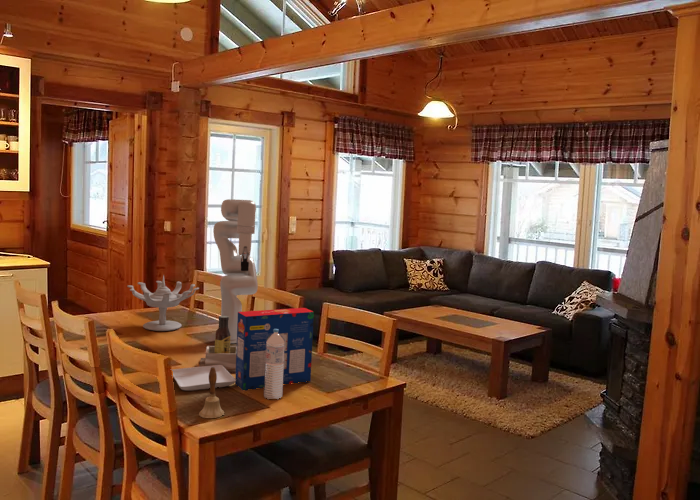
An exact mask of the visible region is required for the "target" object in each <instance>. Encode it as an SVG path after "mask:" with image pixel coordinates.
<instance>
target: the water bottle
mask: <svg viewBox="0 0 700 500" xmlns="http://www.w3.org/2000/svg"><path fill="white" fill-rule="evenodd" d="M278 331H279V330H278V329H273V332H274V333H273V334H271V335H270V336H269V337H268V338H267V340H266V358H265V375H264V376H265V377H264V388H263V397H264V399H266V398H267V399H266V400H269V399H277V400H280V399H282V398H283V395H284V385H283V376H284V375H283V374H284V345H285V340H284V338H283V337H282V336H281V335H280V334H278ZM281 397H282V398H281ZM279 398H280V399H279Z"/></svg>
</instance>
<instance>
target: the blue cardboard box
mask: <svg viewBox="0 0 700 500" xmlns="http://www.w3.org/2000/svg"><path fill="white" fill-rule="evenodd" d="M314 313H315V312H314V311H313V310H311V309H308V308H307V307H294V308H293V307H292V308H281V309H280V308H278V309H263V310H249V311H248V310H246V311H242V312H238V321H237V343H236V346H237V349H236V373H235V376H234V378H235V379H236V382H235V383H234V384H235V386H237V387H238V386H239V387H240V388H241V389H240V388H239V387H238V388H239V389H240V390H241V391H243V390H245V391H249V390H248V389H252V390H257V389H256V388H260V389H264V388H263V387H264V377H265V376H264V375H265V358H266V340H267V338H268V337H269V336H270V335H271V334H273V333H274V332H273V329H278V330H279V331H278V334H280V335H281V336H282V337H283V338H284V340H285V345H284V374H283V375H284V376H283V384H290V385H292V384H291V383H298V382H305V383H307V382H306V381H310V382H311V378H312V358H313V340H314V339H313V337H314V318H315V314H314ZM298 384H299V383H298Z"/></svg>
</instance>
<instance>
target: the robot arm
mask: <svg viewBox="0 0 700 500" xmlns="http://www.w3.org/2000/svg"><path fill="white" fill-rule="evenodd" d="M220 212H221V216H222V217H223V218H224V219H225V220H222V221H217V222H215V223H214V226H213V238H214V241H215V244H216V246H217V248H218V252H219V257H220V258H219V259H220V267H221V271H222V273H223V274H224V276H222V277H221V279H220V282H219V287H220V295H221V307H220V308H221V311H220V313H221V314H220V316H228V317H229V320H228V328H229V332H230V335H231V339H230V344H237V321H238V312H243V305H242V301H241V300H240V298H238V296H241V295H242V296H246V295H247V296H249V295H250V296H251V295H255V294H256V293H257V292H258V287H259V286H258V284H259V283H258V276H257V270H256V264H255V260H254V258H253V257H251V251H252V250H251V249H252V237H253V236H252V235H255V232H256V230H255V229H256V228H255V227H256V212H257V206H256V202H255V201H254V200H251V199H231V198H229V199H224V200H223V201H222V202H221V206H220ZM230 239H238V247H237V246H236V245H235V243H233V242H232V241H231V240H230Z"/></svg>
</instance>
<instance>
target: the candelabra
mask: <svg viewBox="0 0 700 500" xmlns="http://www.w3.org/2000/svg"><path fill="white" fill-rule="evenodd" d="M155 282H156V283H157V287H156V288H157V289H155V291H154V292H151V291H150V290H149V289H148V288H147V286H146V283H145V282H142V281H141V282H140V281H139V282H137V285H140V289H141V291H142V292H143V294H142V293H140V292H138V291H137V290H135V288H134V287H135V286H134V285H127V288H130V289H129V291H130V292H131V293H132V295H133V296H134V297H136V299H137V298H138V299H139V300H141V301H144V302H146V305H147V306H149V307H150V308H151V307H152V308H157V309H158V311H159V318H158V320H152V321H148V322H144V324H142V327H143V328H144V329H146V330H148V331H154V332H155V331H156V332H167V331H174V330H175V331H176V330H178V329H181V327H182V323H180V322H178V321H175V320H167V311H168V308H174V307H178V306H179V305H180V303H181V302H182V301H184V300H186V299H189V298H190V297H192V296H193V295H195V293H196V291H197V290H199V289H200V287H196V284H194V283H192V284H190V286H189V289H188V290H186V291H182V293H181V294H180V293H179V292H180V291H181V289H182V287H183V286H182V282H181V281H176V285H175V288H174V289H173V290H172V291H171V289H170V288H169V287H168V286H167V285H166V283H165V274H163V276H162V280H156V281H155ZM194 287H195V288H194Z"/></svg>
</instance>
